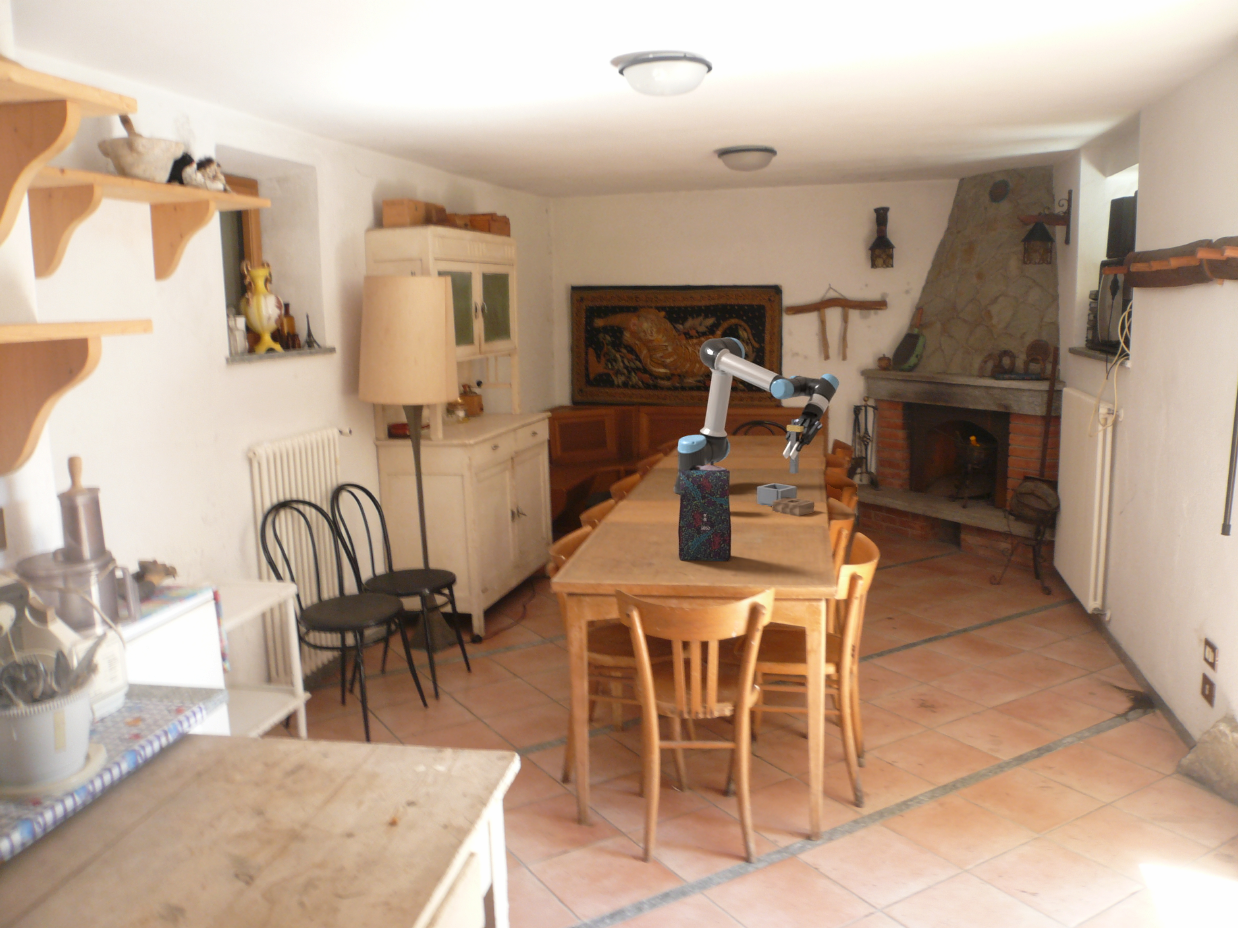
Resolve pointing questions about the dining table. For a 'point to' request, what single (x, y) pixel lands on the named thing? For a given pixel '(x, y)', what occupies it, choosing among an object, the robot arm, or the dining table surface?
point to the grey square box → (774, 493)
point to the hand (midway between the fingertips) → (788, 456)
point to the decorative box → (704, 515)
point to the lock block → (793, 506)
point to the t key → (793, 439)
